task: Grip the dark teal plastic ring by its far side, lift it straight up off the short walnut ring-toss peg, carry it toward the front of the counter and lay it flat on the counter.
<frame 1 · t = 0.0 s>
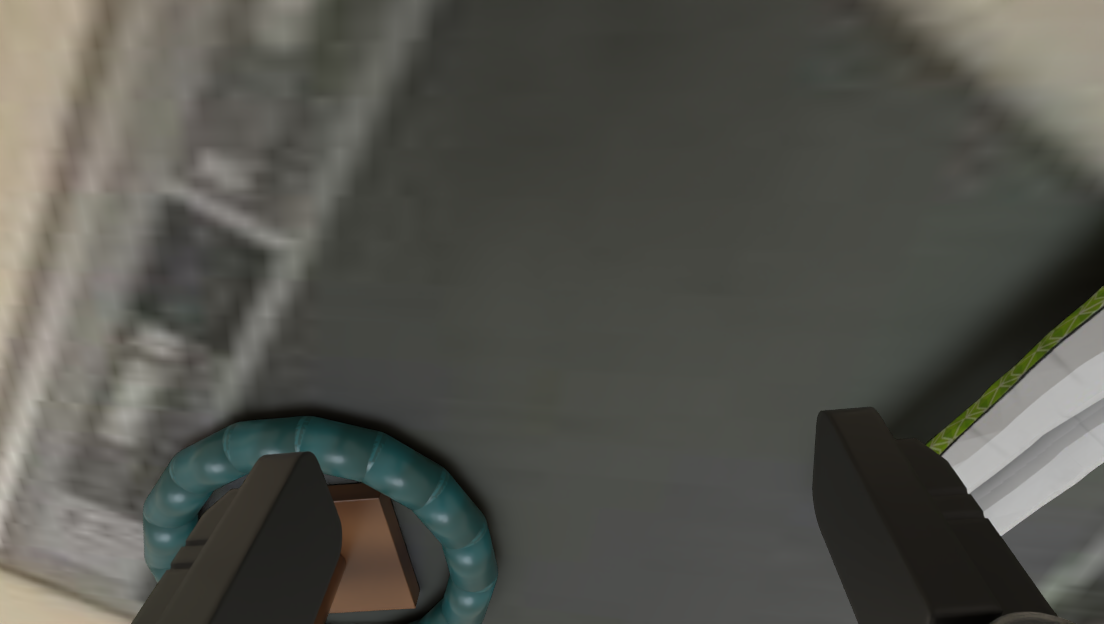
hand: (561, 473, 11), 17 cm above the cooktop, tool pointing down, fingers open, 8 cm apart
ring: (323, 561, 35), point 1 cm above the cooktop
ring toss: (330, 543, 36), on the cooktop
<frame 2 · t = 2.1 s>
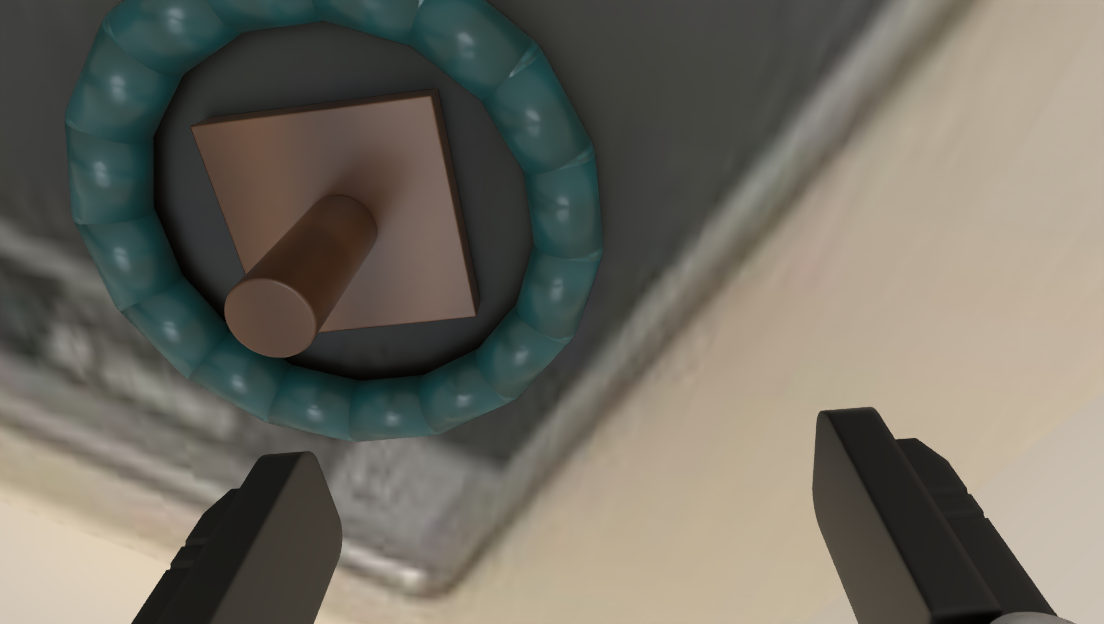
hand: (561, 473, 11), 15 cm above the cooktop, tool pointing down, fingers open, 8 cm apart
ring: (342, 228, 24), point 1 cm above the cooktop
ring toss: (352, 215, 25), on the cooktop
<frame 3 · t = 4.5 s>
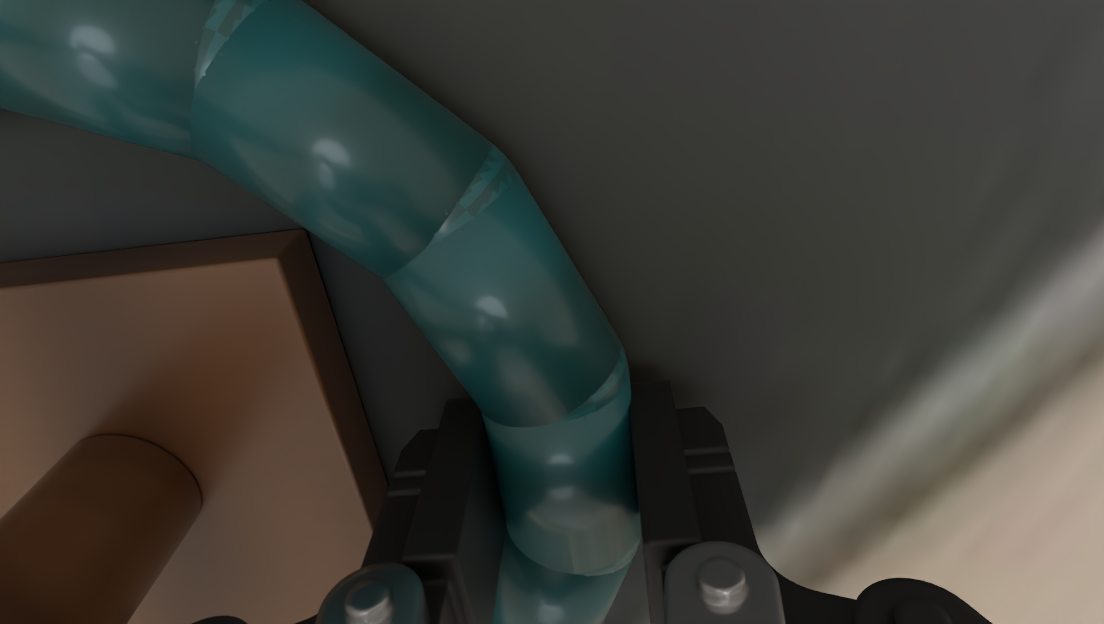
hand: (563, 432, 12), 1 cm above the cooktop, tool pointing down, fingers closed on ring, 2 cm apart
ring: (134, 485, 12), point 1 cm above the cooktop, touching gripper
ring toss: (170, 442, 13), on the cooktop
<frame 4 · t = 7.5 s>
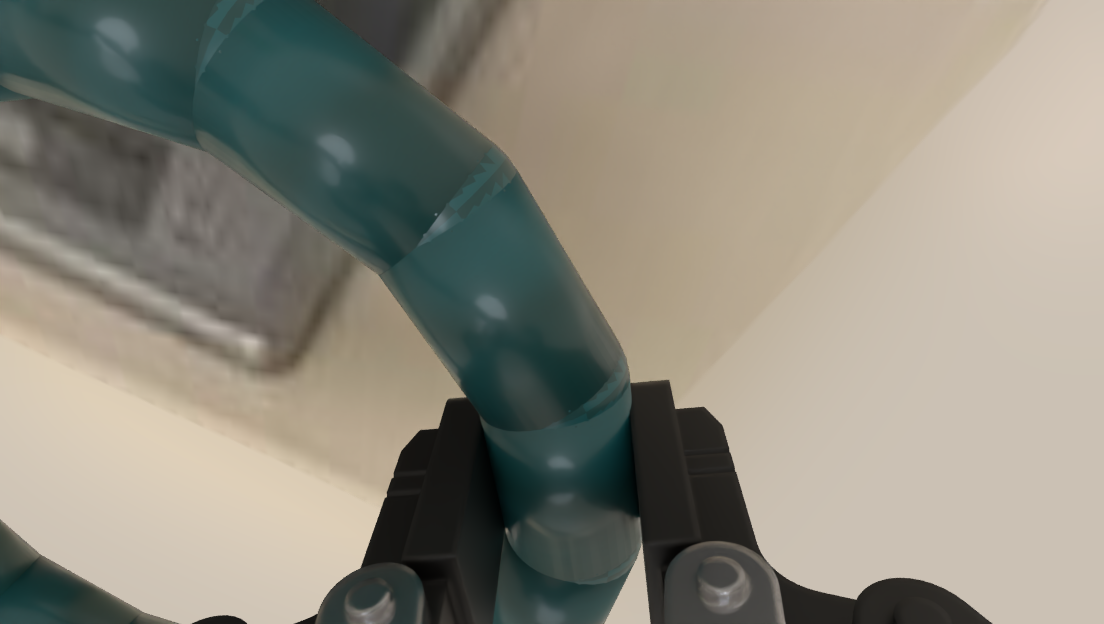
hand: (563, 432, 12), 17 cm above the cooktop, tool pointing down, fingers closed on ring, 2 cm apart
ring: (160, 456, 13), point 17 cm above the cooktop, tilted 7°, touching gripper
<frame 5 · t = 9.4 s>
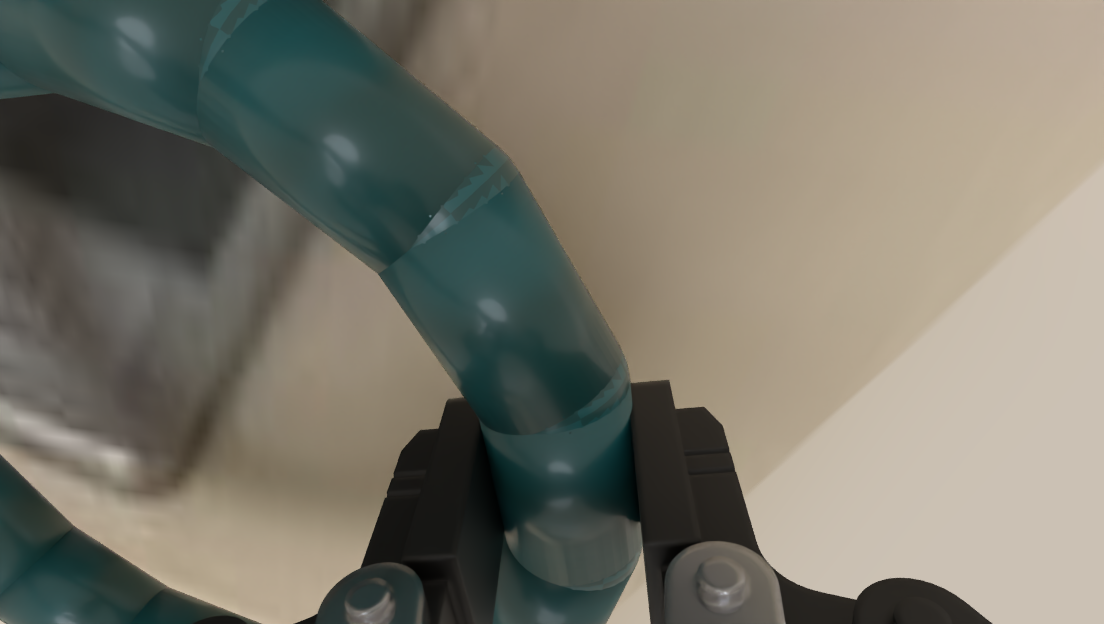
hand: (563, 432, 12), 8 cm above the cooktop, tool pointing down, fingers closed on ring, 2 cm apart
ring: (178, 440, 13), point 7 cm above the cooktop, tilted 11°, touching gripper
when the fingers open (2 cm above the cooktop, at t = 10.8 s): ring stays where it is, point 1 cm above the cooktop.
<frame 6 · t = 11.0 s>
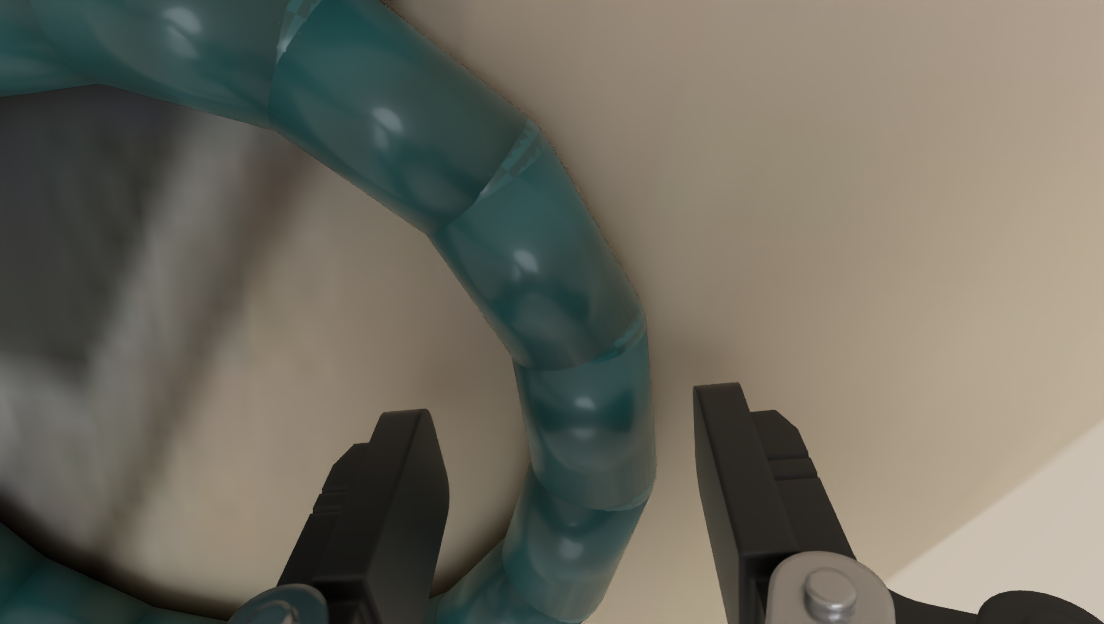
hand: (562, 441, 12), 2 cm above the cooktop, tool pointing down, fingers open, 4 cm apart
ring: (193, 433, 13), point 1 cm above the cooktop
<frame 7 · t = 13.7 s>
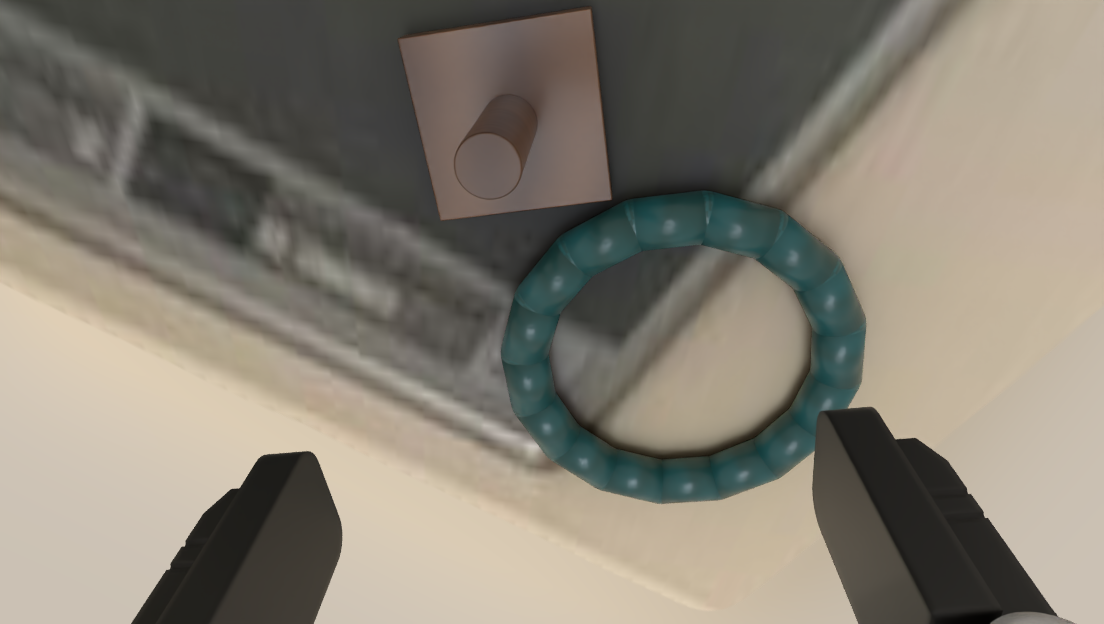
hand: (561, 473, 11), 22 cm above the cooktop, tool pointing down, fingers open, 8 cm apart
ring: (679, 363, 35), point 1 cm above the cooktop
ring toss: (512, 117, 30), on the cooktop
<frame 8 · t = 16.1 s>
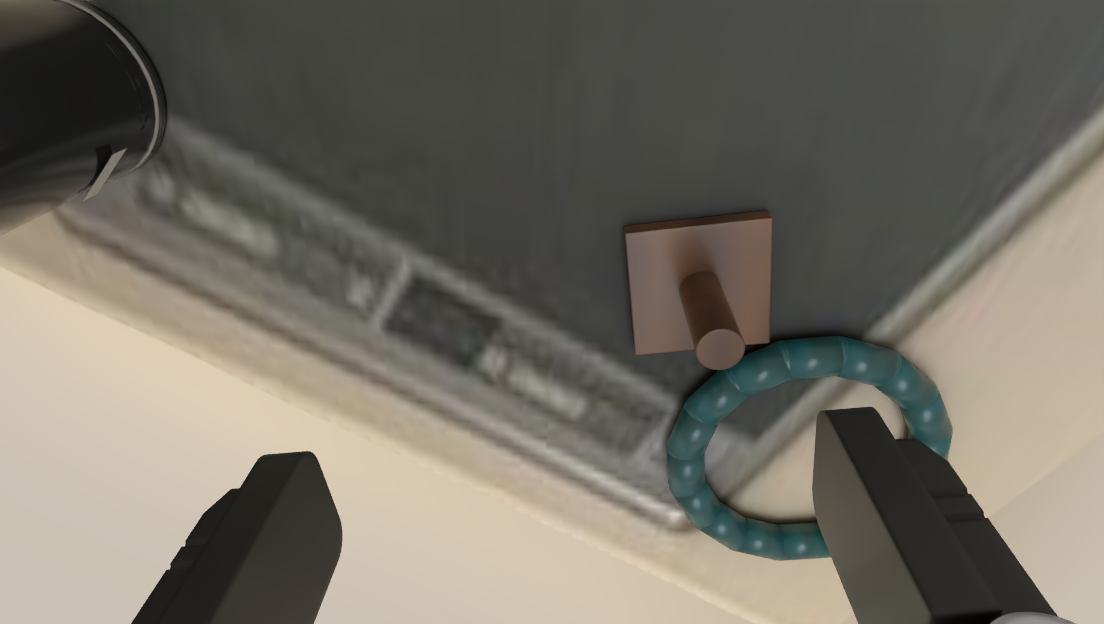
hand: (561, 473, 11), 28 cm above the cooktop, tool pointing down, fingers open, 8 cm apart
ring: (804, 456, 45), point 1 cm above the cooktop
ring toss: (696, 281, 40), on the cooktop
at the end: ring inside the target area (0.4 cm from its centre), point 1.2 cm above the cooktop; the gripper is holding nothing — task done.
